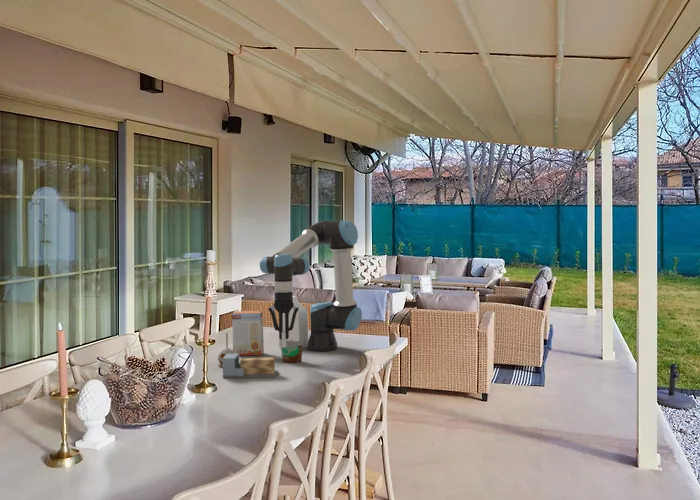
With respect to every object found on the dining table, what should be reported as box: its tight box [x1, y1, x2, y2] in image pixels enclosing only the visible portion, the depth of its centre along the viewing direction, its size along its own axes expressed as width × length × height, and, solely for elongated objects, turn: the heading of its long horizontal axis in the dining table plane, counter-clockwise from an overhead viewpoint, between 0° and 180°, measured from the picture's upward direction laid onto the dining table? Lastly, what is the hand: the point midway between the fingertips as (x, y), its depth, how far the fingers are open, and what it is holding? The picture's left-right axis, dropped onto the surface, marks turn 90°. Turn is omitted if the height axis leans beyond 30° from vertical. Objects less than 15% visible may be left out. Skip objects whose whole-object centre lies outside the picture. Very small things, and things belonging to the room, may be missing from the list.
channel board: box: [222, 354, 279, 379], centre depth 260 cm, size 22×11×8 cm, turn 88°
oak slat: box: [239, 356, 276, 375], centre depth 259 cm, size 14×4×6 cm, turn 94°
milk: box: [277, 295, 309, 350], centre depth 312 cm, size 12×12×26 cm
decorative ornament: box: [217, 332, 235, 368], centre depth 276 cm, size 8×8×15 cm
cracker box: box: [231, 310, 265, 356], centre depth 297 cm, size 14×6×21 cm, turn 84°
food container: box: [278, 339, 304, 364], centre depth 282 cm, size 12×6×10 cm, turn 62°
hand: (284, 346), depth 258 cm, fingers closed
